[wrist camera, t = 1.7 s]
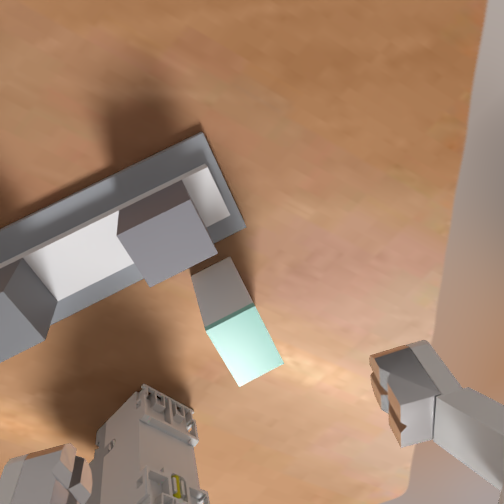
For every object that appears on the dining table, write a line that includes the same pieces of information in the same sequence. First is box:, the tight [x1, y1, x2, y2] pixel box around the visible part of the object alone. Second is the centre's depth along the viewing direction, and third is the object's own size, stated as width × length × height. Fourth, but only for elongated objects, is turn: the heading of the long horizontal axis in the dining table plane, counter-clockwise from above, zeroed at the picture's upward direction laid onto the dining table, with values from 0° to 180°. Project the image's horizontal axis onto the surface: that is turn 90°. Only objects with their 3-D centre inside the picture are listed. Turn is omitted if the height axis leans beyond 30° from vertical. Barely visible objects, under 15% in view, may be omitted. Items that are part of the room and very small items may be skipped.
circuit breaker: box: [85, 384, 210, 504], centre depth 42 cm, size 8×14×15 cm, turn 135°
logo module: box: [191, 257, 284, 387], centre depth 40 cm, size 4×7×10 cm, turn 23°
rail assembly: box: [0, 132, 246, 363], centre depth 35 cm, size 10×28×8 cm, turn 113°
